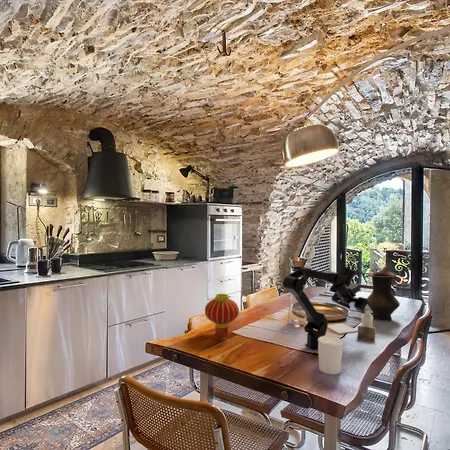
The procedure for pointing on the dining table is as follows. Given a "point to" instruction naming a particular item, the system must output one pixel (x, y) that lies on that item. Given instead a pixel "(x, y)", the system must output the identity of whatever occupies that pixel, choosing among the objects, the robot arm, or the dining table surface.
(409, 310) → the dining table surface
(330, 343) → the white cylinder
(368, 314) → the bottle
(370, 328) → the brown wooden box
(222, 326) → the lantern
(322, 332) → the robot arm
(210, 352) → the dining table surface
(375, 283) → the jug
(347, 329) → the board
